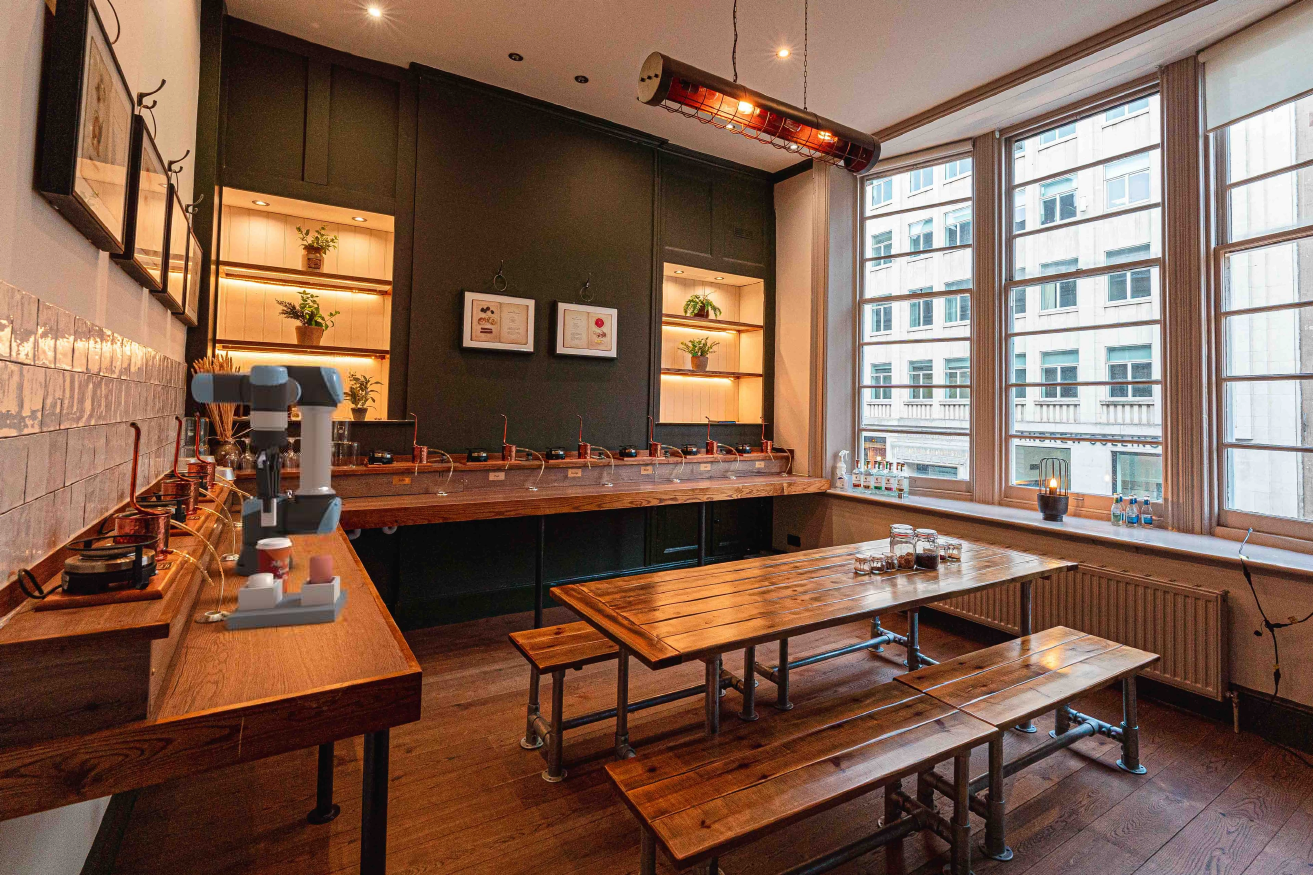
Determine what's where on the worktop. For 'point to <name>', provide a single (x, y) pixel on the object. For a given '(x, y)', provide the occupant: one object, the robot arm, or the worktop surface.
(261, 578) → the plug
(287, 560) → the coffee cup
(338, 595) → the board
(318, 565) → the red plug
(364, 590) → the worktop surface
